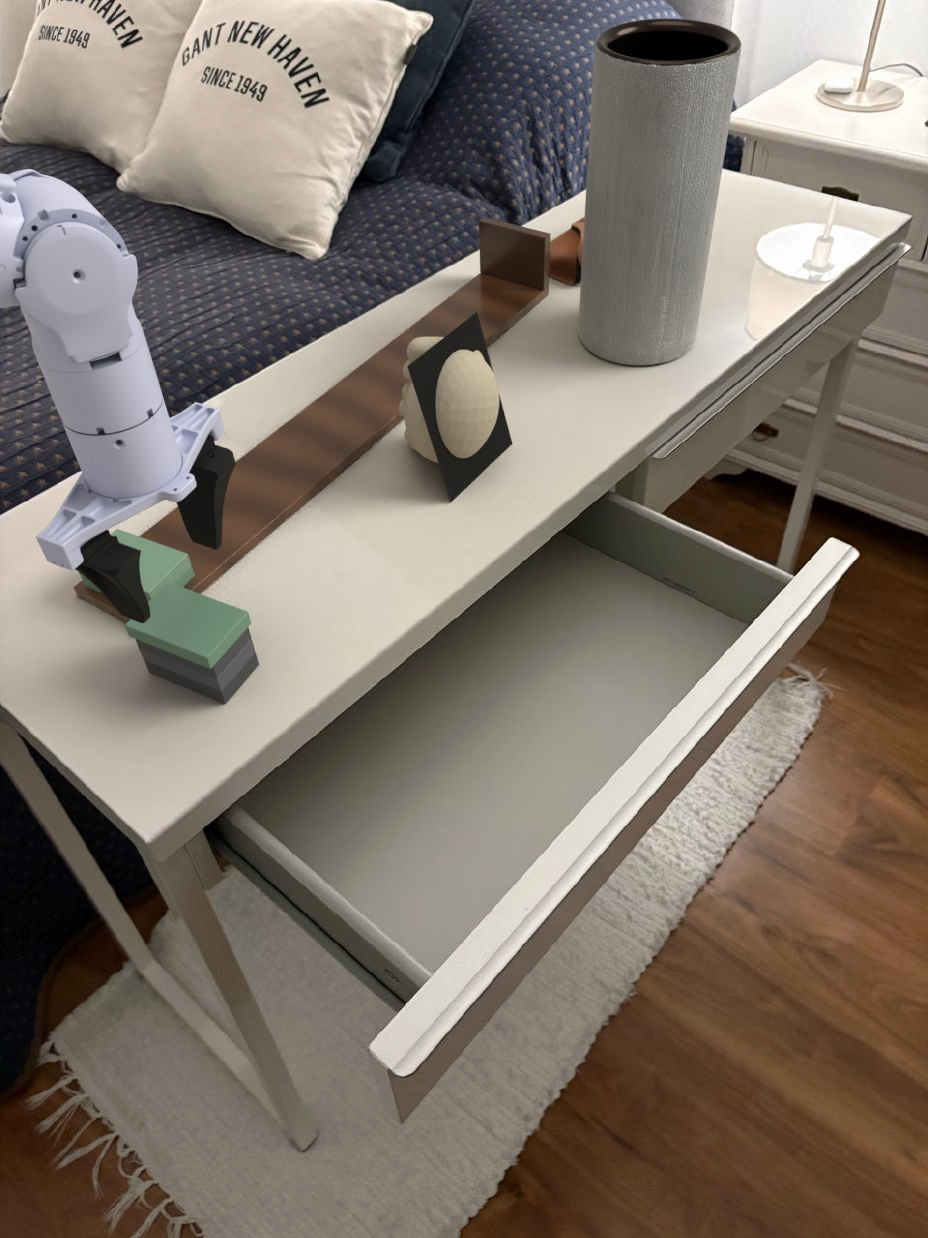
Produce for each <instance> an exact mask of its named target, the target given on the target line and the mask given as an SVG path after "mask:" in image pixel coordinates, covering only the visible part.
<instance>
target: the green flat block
mask: <svg viewBox="0 0 928 1238" xmlns="http://www.w3.org/2000/svg"><path fill="white" fill-rule="evenodd" d="M110 535H111V536H116V537H117V538H118V541H119V543H121V544H124V545H127V546H130V547H133V548H135V549H138V550H141V554H140V577H141V583H142V587H143V590H144V593H145V595H146V598H147V601H149V600H150V599H151V598H152V597H153V596H154V595H155V594H156V593H157V592H158V591H159V590H160V589H161V588H162V587H163V586H165V585H166V584H167V583H168V582H169V583H172V584H175V585H177V586H180V587H184V586H185V585H186V584H187V583H188V582H189V581H190V580H191V579H192V578H193V577H194V576H195V574H194V571H193V568H192V565H191V562H190V559H189V556H188V554H187V553H184V552H181V551H178V550H175V549H173V548H170V547H167V546H164V545H161V544H158V543H156V542H153V541H150V540H147V539H144V538H142V537H139V536H140V535H136V534H133V533H131V532H127V531H124V530H121V529H119V528H116V529H114V530H113V532H111V533H110ZM79 576H80V578H81V581H82V580H83V583H84V585H85V587H86V588H89V589H91V590H94V591H97V592H99V593H102V592H101V591H100V590H99V589H98V588H97V587H96V586H95V585H94V584H93V583H92V582H91V581H90V580H88V579H87V578H86V577H85V576H83V575H82V574H81V573H79ZM102 594H103V593H102Z"/></svg>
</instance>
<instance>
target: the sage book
mask: <svg viewBox="0 0 928 1238" xmlns="http://www.w3.org/2000/svg"><path fill="white" fill-rule="evenodd" d="M148 604H149V607H150V618H149V619H148V620H147V621H146V622H145V623H140V622H137V621H135V620H132V619H130V620H129V621H128V622H127V623H126V622H125V624H124V627H125V629H126V632H127V634H128V636H129V637H130V638H132V639H134V640H136V639H137V640H140V641H142V642H145V643H147V644H150V645H152V646H155V647H157V648H160V649H162V650H165V651H167V652H169V653H172V654H174V655H177V656H179V657H182V658H184V659H187V660H189V661H192V662H194V663H197V664H199V665H202V666H204V667H207V668H209V669H211V668H212V667H213V666H214V665H215V664H216V663H217V662H218V660H219V659H220V658H221V657H222V656H223V655H224V654H225V653H226V651H227V650H228V649H229V648H230V647H231V646H232V645H233V644H234V642H235V641H236V640H237V639H238V638H239V637H240V636H241V634H242V633H243V632H244V631H245V630H246V629H247V628H248V627H250V626H251V624H252V620H251V616H250V613H249V611H246V610H245V609H242V608H240V607H237V606H234V605H232V604H229V603H225V602H223V601H220V600H218V599H215V598H212V597H209V596H207V595H204V594H202V593H200V594H199V593H196V592H194V591H191V590H188V589H185V588H183V587H180V586H177V585H175V584H172V583H169V582H168V583H167V584H166V585H165V586H163V587H162V588H161V589H160V590H159V591H158V592H157V593H156V594H155V595H154V596H153V597H152V598H151V599H150V600H149V601H148Z"/></svg>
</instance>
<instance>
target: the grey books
mask: <svg viewBox="0 0 928 1238" xmlns="http://www.w3.org/2000/svg"><path fill="white" fill-rule="evenodd" d="M249 627H250V626H249ZM249 627H248V628H247V629H246V630H245V631H244V632H243V633H242V634H241V636H240V637H239V638H238V639H237V640H236V641H235V642H234V644H233V645H232V646H231V647H230V648H229V649H228V650H227V651H226V653H225V654H224V655H223V656H222V657H221V658H220V659H219V660H218V662H217V663H216V664H215V665H214V666H213V667H212V668H211V669H209V668H207V667H204V666H202V665H199V664H197V663H194V662H192V661H189V660H187V659H184V658H182V657H179V656H177V655H174V654H172V653H169V652H167V651H165V650H162V649H160V648H157V647H155V646H152V645H150V644H147V643H145V642H142V641H140V640H137V639H135V643H136V645H137V647H138V649H139V652H140V653H141V656H142V659H143V661H144V664H145V666H146V668H147V671H148V673H150V674H152V675H155V676H156V677H159V678H162V679H163V680H166V681H168V682H171V683H173V684H175V685H178V686H181V687H183V688H185V689H187V690H190V691H193V692H195V693H197V694H200V695H202V696H204V697H207V698H210V699H211V700H215V701H217V702H219V703H222V704H224V705H226V704H227V703H228V702H229V701H230V699H231V698H232V697H233V696H234V695H235V694H236V693H237V691H238V690H239V689H240V688H241V687H242V686H243V684H244V683H245V682H246V681H247V679H248V678H249V677H250V676H251V675H252V674H253V672H254V671H255V670H256V669H257V667H259V665H260V661H259V659H258V655H257V652H256V648H255V645H254V641H253V639H252V635H251V631H250V628H249Z"/></svg>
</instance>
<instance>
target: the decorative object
mask: <svg viewBox="0 0 928 1238" xmlns="http://www.w3.org/2000/svg"><path fill="white" fill-rule="evenodd" d="M407 356H408V358H409V360H408V361H407V362H406V363H405V365H404V368H403V374H404V377H405V378H406V379H407V380H408V381H410V382H409V383H407V384H406V385H405V386H404V387H403V389H402V397H403V399H402V401H401V402H400V405H399V412H400V414H401V416H402V417H404V422H405V423H404V425H405V429H404V433H403V434H404V435H403V437H404V439H405V442H406V443H407V444H408V446H410V447H411V448H412V449H413V450H414V451H415V452H417V453H419V454H420V456H422V457H423V458H425V459H427V460H429V461H431V462H433V463H435V464H438V466H439V469H440V472H441V476H442V479H443V482H444V485H445V488H446V491H447V494H448V498H449V500H450V503H452V502H453V501H454V500H456V498H458V497H459V496H460V495H461V494H462V493H463V492H464V491H465V490H466V489H467V488H468V487H469V486H470V485H471V484H472V483H473V482H474V481H476V479H477V478H478V477H480V476H481V474H483V472H485V471H486V470H487V469H488V468H489V467H490V466H491V465H492V464H493V463H494V462H495V461H496V460H497V459H498V458H499V457H500V456H501V455H503V454H504V452H505V451H507V449H509V447H510V446H512V445H513V440H512V436H511V432H510V429H509V424H508V422H507V417H506V415H505V410H504V407H503V406H504V405H503V403H502V400H501V399H502V398H501V395H500V391H499V386H498V381H497V379H496V375H495V374H494V373H495V372H494V370H493V369H494V368H493V366H492V362H491V359H490V355H489V351H488V347H486V343H485V339H484V335H483V332H482V328H481V324H480V320H479V317H478V313H477V312H476V313H475V314H473V315H472V316H471V317H469V318H468V319H467V320H466V321H464V322H463V323H462V324H461V325H459V326H458V327H457V328H455V329H454V330H453V331H452V332H450V333H449V334H448V335H447V336H445V337H418V338H415V339H413V340H412V341H411V342H410V343H409V345H408V347H407Z"/></svg>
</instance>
